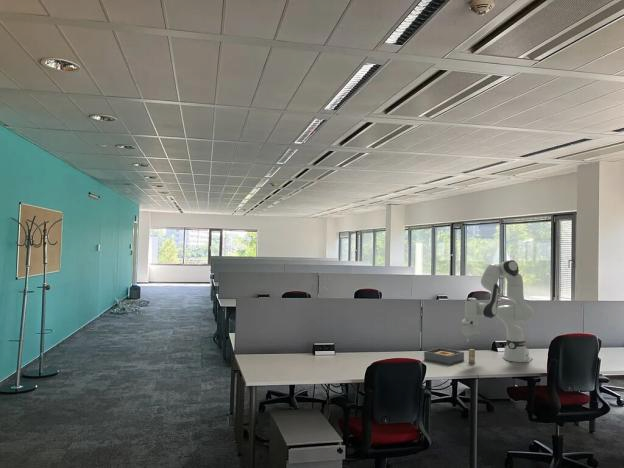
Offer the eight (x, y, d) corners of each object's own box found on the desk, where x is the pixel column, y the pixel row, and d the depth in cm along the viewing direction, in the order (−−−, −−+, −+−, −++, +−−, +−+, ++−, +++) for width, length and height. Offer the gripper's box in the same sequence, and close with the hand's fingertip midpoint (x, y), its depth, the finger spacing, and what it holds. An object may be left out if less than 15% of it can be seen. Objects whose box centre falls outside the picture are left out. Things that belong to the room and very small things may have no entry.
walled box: (439, 355, 344) (439, 347, 344) (464, 360, 330) (463, 352, 330) (424, 360, 330) (424, 351, 330) (449, 365, 316) (449, 356, 316)
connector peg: (470, 361, 326) (470, 348, 326) (475, 362, 323) (475, 349, 323) (467, 362, 323) (467, 349, 324) (473, 363, 320) (473, 350, 321)
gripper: (474, 319, 334) (474, 339, 333) (459, 321, 320) (459, 341, 319) (482, 320, 329) (482, 340, 328) (468, 322, 315) (468, 343, 314)
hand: (471, 341), depth 324 cm, fingers open, 8 cm apart
